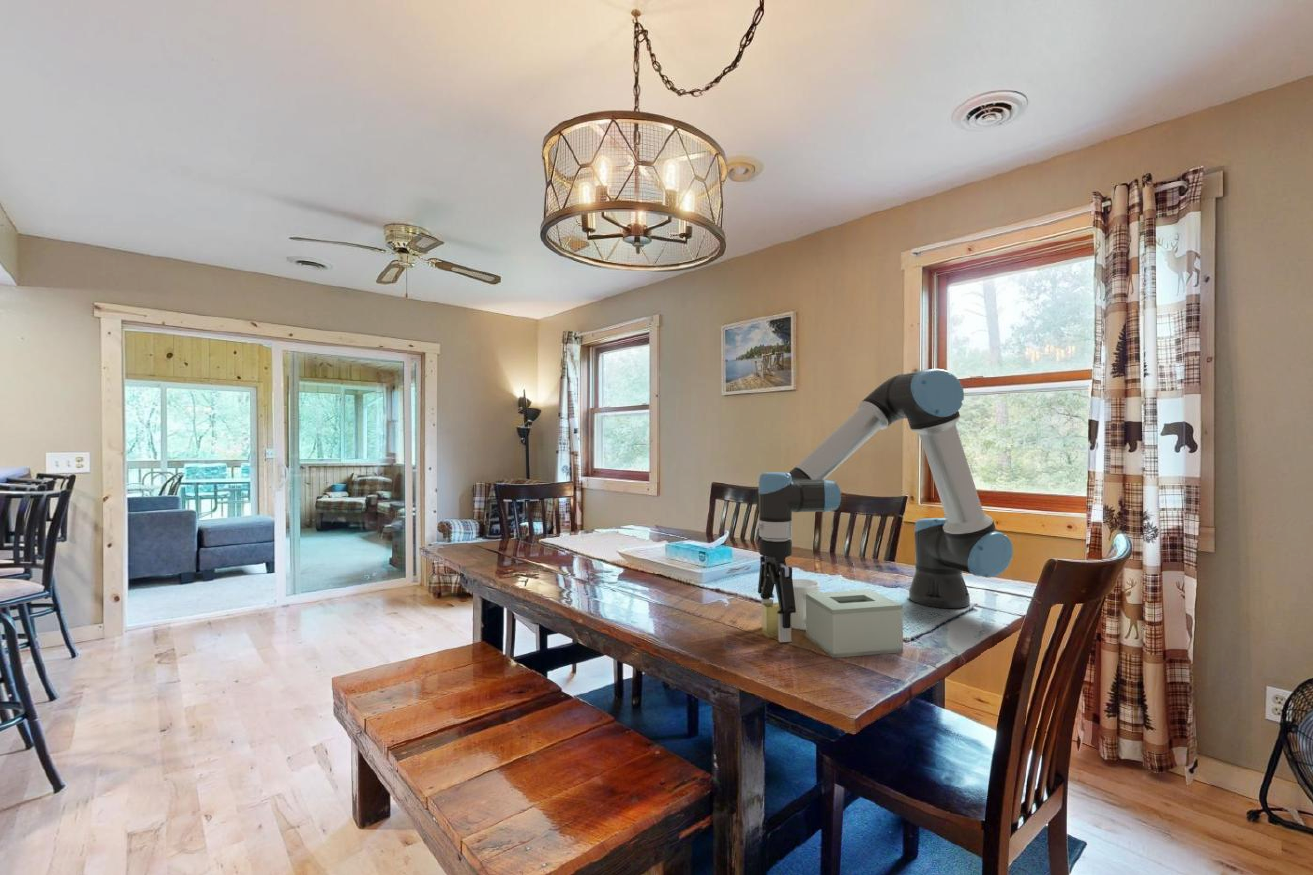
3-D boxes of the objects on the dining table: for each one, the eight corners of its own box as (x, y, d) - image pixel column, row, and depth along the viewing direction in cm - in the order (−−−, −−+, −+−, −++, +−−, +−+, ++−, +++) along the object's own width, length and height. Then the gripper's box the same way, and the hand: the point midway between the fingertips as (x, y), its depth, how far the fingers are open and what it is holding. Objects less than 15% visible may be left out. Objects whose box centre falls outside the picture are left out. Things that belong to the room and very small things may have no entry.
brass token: (786, 631, 134) (785, 601, 135) (791, 635, 132) (791, 605, 132) (762, 633, 133) (761, 603, 133) (766, 637, 131) (766, 607, 131)
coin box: (870, 631, 133) (869, 589, 133) (903, 652, 120) (902, 605, 121) (806, 636, 131) (805, 593, 131) (833, 658, 118) (832, 610, 118)
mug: (829, 635, 131) (828, 591, 131) (793, 636, 131) (792, 591, 131) (814, 619, 143) (813, 578, 143) (781, 619, 143) (781, 578, 143)
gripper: (744, 531, 143) (744, 619, 143) (778, 547, 121) (779, 652, 121) (772, 530, 144) (773, 617, 144) (811, 546, 122) (812, 649, 122)
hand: (775, 633), depth 132 cm, fingers open, 10 cm apart
